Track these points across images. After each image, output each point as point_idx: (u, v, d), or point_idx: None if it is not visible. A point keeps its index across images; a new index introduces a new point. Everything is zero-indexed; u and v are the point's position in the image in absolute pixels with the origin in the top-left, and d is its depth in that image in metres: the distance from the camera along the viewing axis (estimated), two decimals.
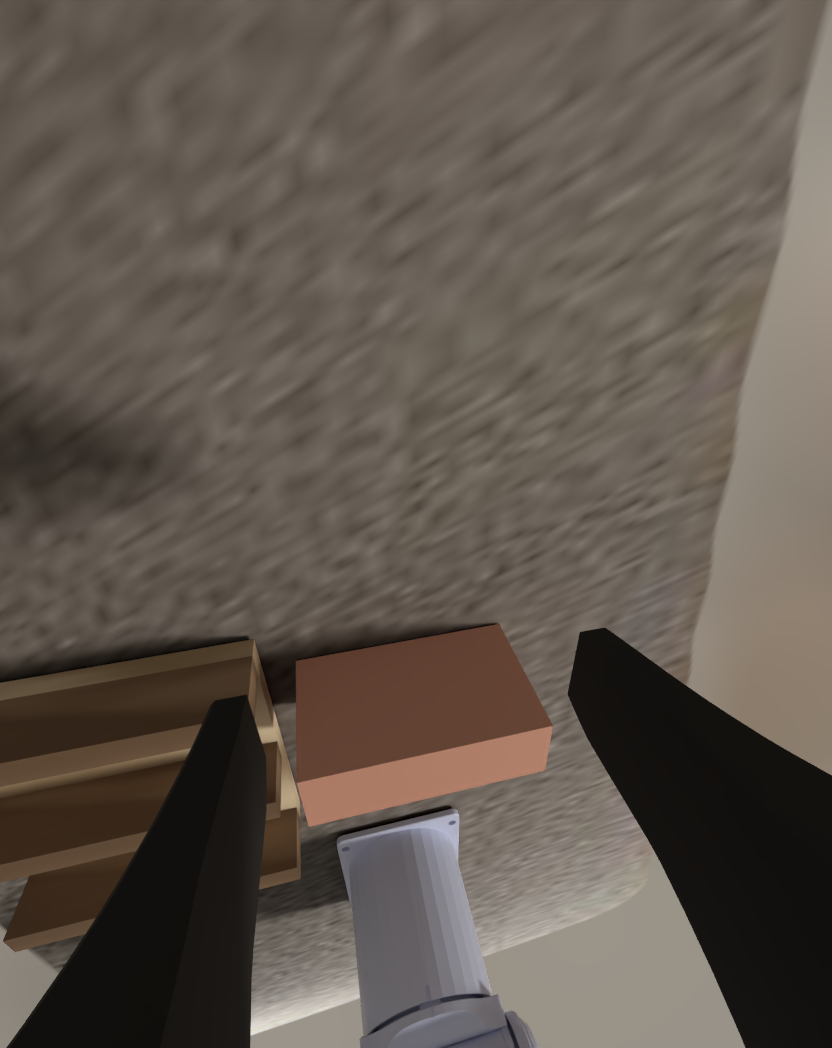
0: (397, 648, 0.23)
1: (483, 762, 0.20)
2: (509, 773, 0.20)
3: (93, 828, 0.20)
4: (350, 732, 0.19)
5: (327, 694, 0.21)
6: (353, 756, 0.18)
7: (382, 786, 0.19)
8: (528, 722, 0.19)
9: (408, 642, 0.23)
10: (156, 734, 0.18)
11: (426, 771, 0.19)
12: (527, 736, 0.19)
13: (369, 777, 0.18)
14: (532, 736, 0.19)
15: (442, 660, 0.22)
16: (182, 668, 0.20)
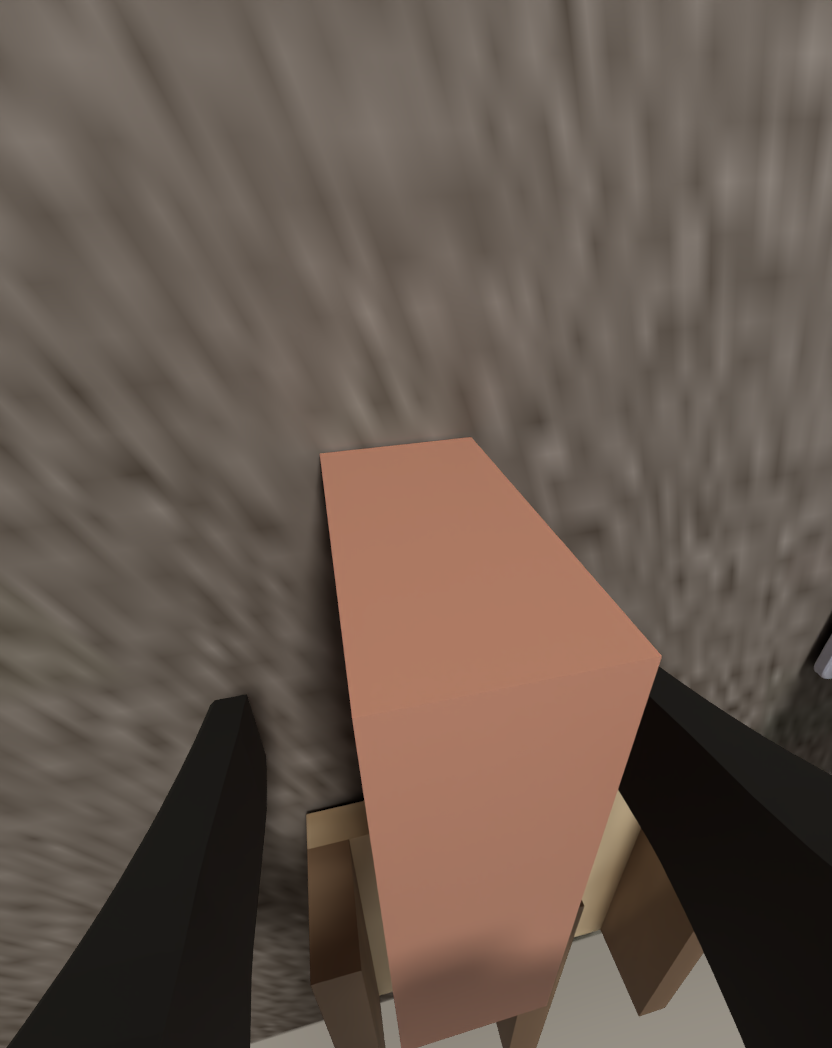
0: None
1: (486, 847, 0.06)
2: (597, 766, 0.06)
3: None
4: None
5: None
6: None
7: (479, 972, 0.08)
8: None
9: None
10: (332, 1024, 0.13)
11: (461, 933, 0.07)
12: (392, 781, 0.05)
13: (434, 995, 0.08)
14: (403, 765, 0.05)
15: None
16: None
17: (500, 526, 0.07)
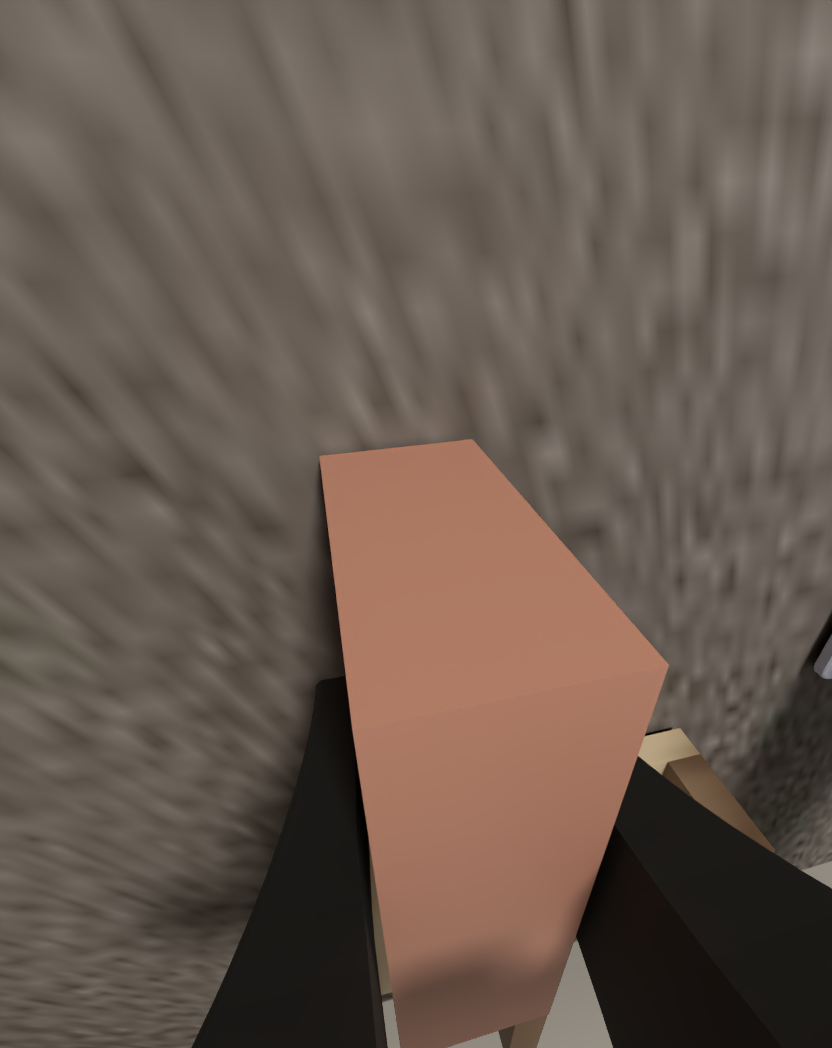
0: None
1: (488, 858, 0.06)
2: (601, 775, 0.05)
3: None
4: None
5: None
6: None
7: (481, 981, 0.08)
8: None
9: None
10: None
11: (464, 943, 0.07)
12: (393, 793, 0.05)
13: (435, 1005, 0.08)
14: (404, 777, 0.05)
15: None
16: None
17: (502, 530, 0.07)
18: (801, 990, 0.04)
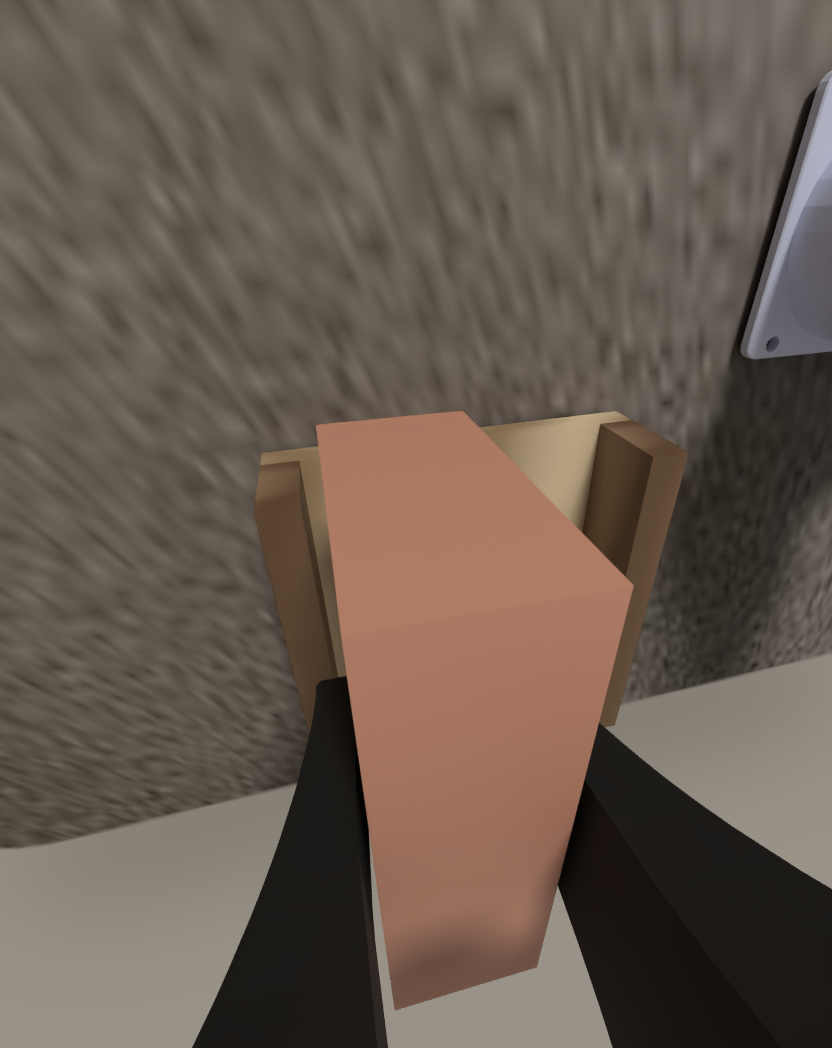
0: None
1: (471, 783, 0.06)
2: (576, 700, 0.06)
3: None
4: None
5: None
6: None
7: (468, 923, 0.08)
8: None
9: None
10: (281, 603, 0.14)
11: (451, 877, 0.07)
12: (380, 704, 0.05)
13: (425, 947, 0.08)
14: (390, 687, 0.05)
15: None
16: None
17: (487, 483, 0.07)
18: (800, 991, 0.04)
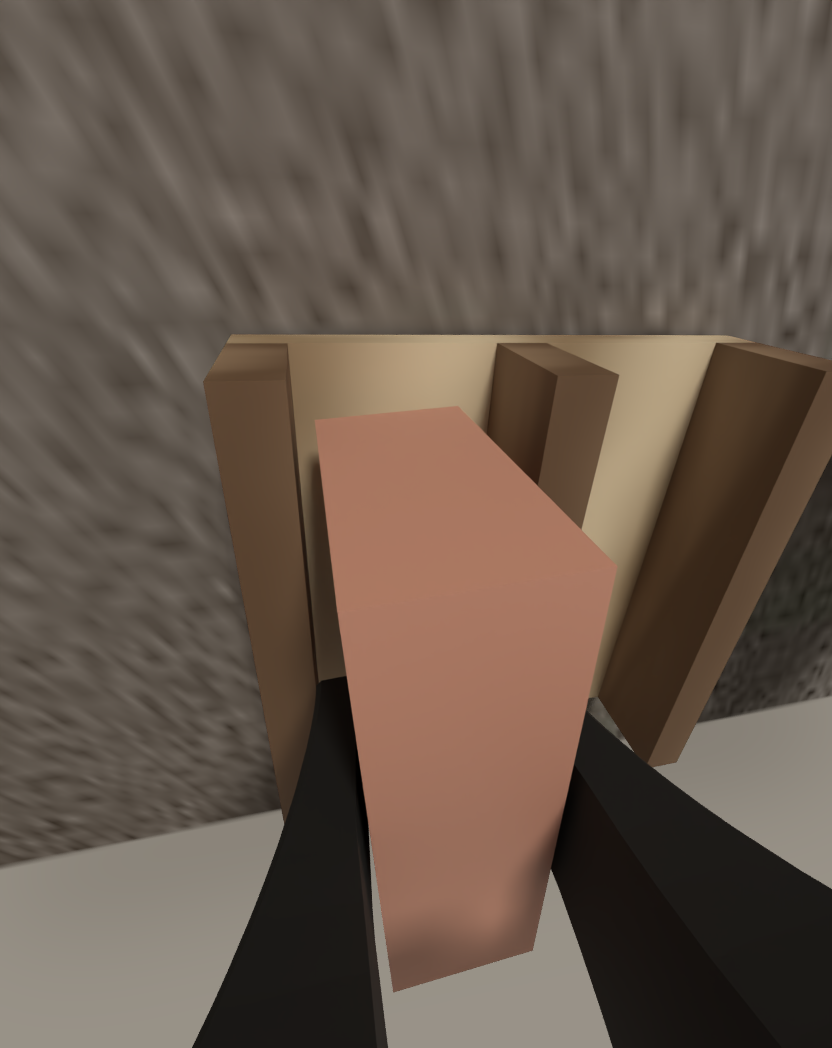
0: None
1: (465, 761, 0.06)
2: (565, 680, 0.06)
3: None
4: None
5: None
6: None
7: (464, 903, 0.09)
8: None
9: None
10: (243, 555, 0.09)
11: (446, 857, 0.08)
12: (375, 680, 0.05)
13: (422, 927, 0.09)
14: (385, 664, 0.05)
15: None
16: None
17: (480, 473, 0.07)
18: (800, 989, 0.04)
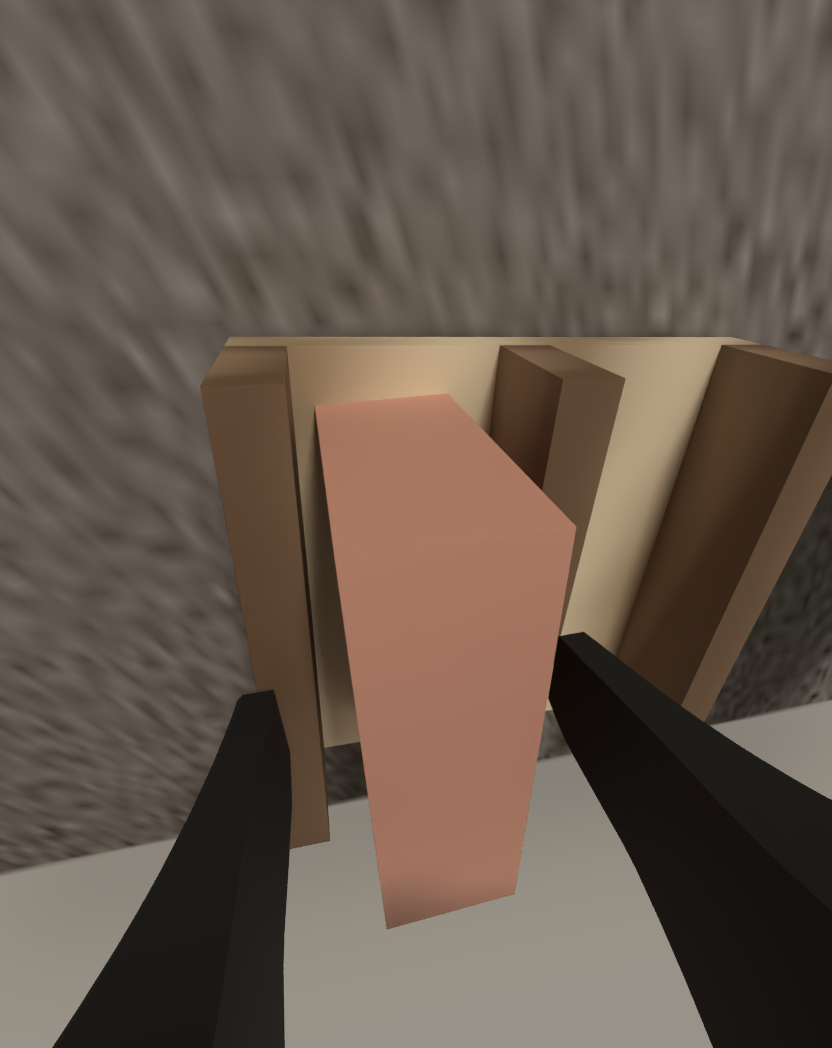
0: None
1: (448, 703, 0.07)
2: (534, 629, 0.07)
3: None
4: None
5: None
6: None
7: (450, 842, 0.09)
8: None
9: None
10: (242, 562, 0.09)
11: (432, 795, 0.08)
12: (367, 625, 0.06)
13: (412, 865, 0.10)
14: (376, 610, 0.06)
15: None
16: None
17: (464, 452, 0.08)
18: None
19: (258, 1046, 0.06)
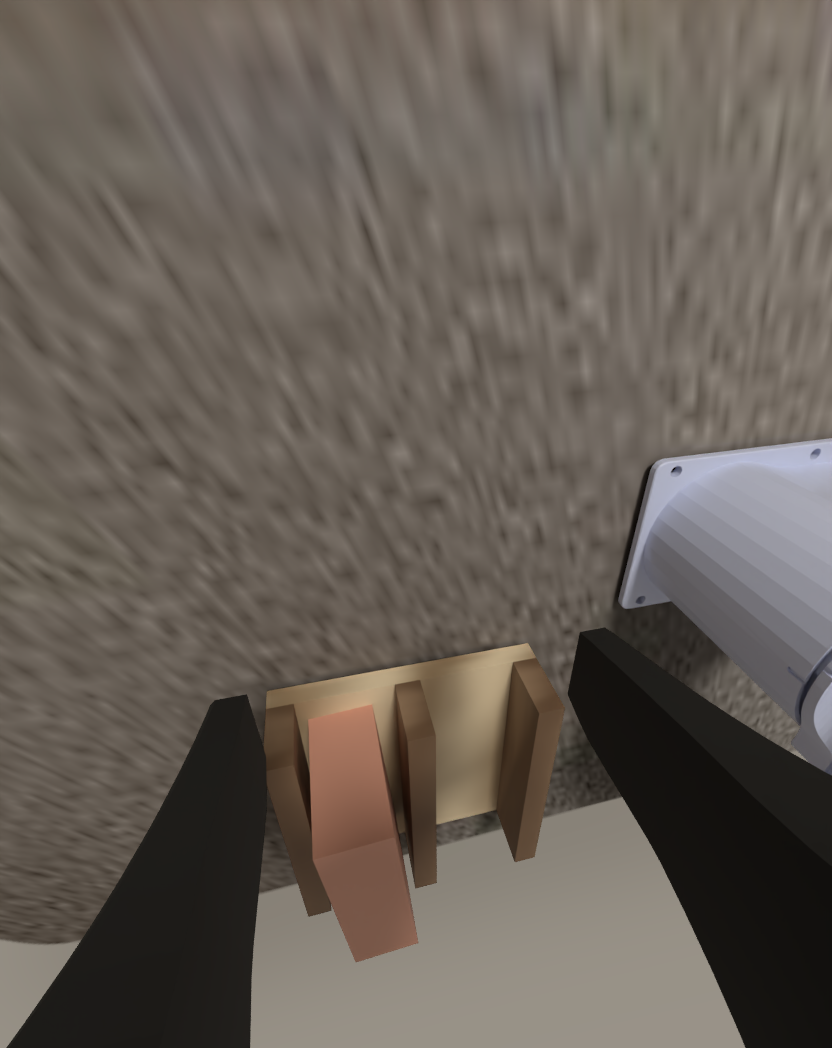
0: None
1: (361, 885, 0.19)
2: (389, 861, 0.19)
3: (409, 822, 0.24)
4: None
5: None
6: None
7: (377, 926, 0.21)
8: None
9: None
10: (280, 814, 0.21)
11: (363, 912, 0.20)
12: (326, 871, 0.18)
13: (361, 936, 0.21)
14: (328, 867, 0.18)
15: None
16: None
17: (367, 774, 0.20)
18: None
19: None
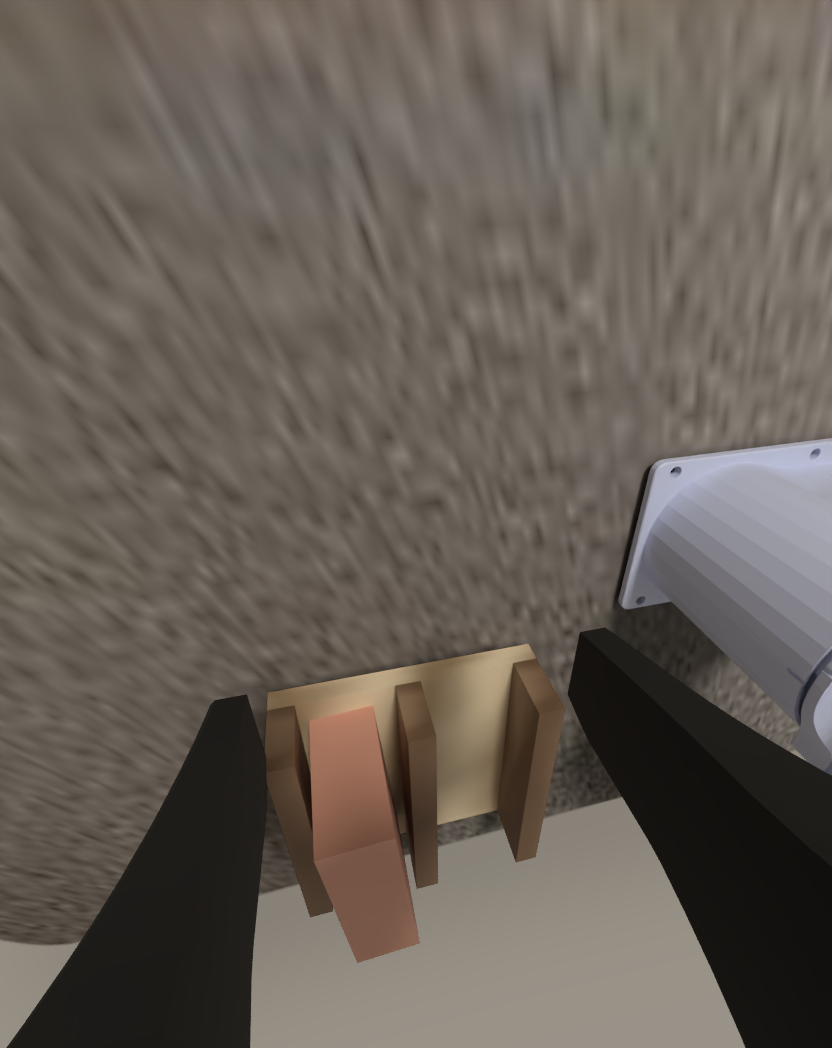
0: None
1: (362, 885, 0.19)
2: (390, 862, 0.19)
3: (411, 822, 0.24)
4: None
5: None
6: None
7: (378, 927, 0.21)
8: None
9: None
10: (281, 815, 0.21)
11: (365, 912, 0.20)
12: (327, 872, 0.18)
13: (363, 936, 0.21)
14: (329, 868, 0.18)
15: None
16: None
17: (368, 775, 0.20)
18: None
19: None
